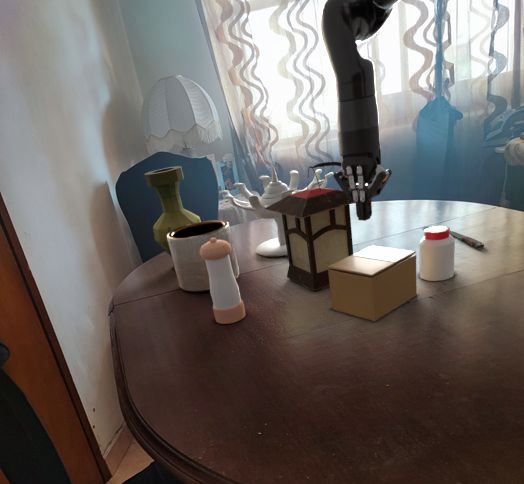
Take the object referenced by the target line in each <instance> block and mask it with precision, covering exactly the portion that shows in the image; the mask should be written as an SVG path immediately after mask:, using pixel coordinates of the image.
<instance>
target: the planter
mask: <svg viewBox="0 0 524 484" xmlns="http://www.w3.org/2000/svg"><path fill="white" fill-rule="evenodd" d="M211 238H216V239H217V240H224V241H227V242H228V243H229V244H230V246H231V252H230V254H229V257H230V262H231V266H232V271H233V274H234V277H235V279H236V280H237V279H239V276H240V268H239V267H240V266H239V264H238V263H239V262H238V259H237V254H236V249H235V245H234V240H233V235H232V231H231V226H230V223H229V221H227V220H223V219H211V220H203V221H202V220H201V222H197V223H193V224H189V225H185V226H182V227H180V228H177V229H175V230H173V231H171V232H170V233H168V234H167V240H168V243H169V247H170V251H171V255H172V257H171V258H172V263H174V266H175V270H174V271H175V275H176V279H177V281H178V286H179V287H180V289H182V290H183V291H186V292H188V293H207V292H208V293H209V292H210V282H209V274H208V270H207V265H206V261H205V259H203V258H202V257H201V255H200V249H201V247H202V245H204V244H205V243H207V242H209V241H210V239H211ZM174 266H173V267H174Z"/></svg>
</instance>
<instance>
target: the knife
mask: <svg viewBox="0 0 524 484" xmlns="http://www.w3.org/2000/svg"><path fill="white" fill-rule="evenodd" d="M430 227H431V226H426V227H424V230H425V229H427V228H430ZM450 235H451V236H452V237H454V238H455V237H456V238H457V239H458V241H462V242H465V243H467V245H469V246H471V247H475V249H483V248H485V244H484V243H483V242H481V241H479V240H477V239H475V238H472V237H470V236H467V235H463V234H461V233H459V232H456V231H452V230H450Z"/></svg>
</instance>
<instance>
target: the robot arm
mask: <svg viewBox="0 0 524 484" xmlns="http://www.w3.org/2000/svg"><path fill="white" fill-rule="evenodd" d="M400 1H401V0H326V1H325V3H324V5H323V7H322V10H321V13H320V21H319V29H320V30H319V31H320V36H321V40H322V44H323V47H324V51H325V53H326V56H327V60H328V63H329V66H330V68H331V71H332V74H333V78H334V89H335V99H336V127H337V138H338V150H339V155H340V156H341V157H342V159H341V166H342V167H340V168H339V170H338V171H336V172H333V179H334V180H335V181H336V183H337V184H338V186H339V188H340V190H341V191H343V192H344V193H345V195H346V197H347V198H352V199H353V200H354V201H355V211H356V212H355V214H356V217H357V219H358V221H368V220H370V219H371V217H372V215H373V208H372V207H373V205H372V200H373V199H374V198H376V197H378V196H380V194H381V193H382V192H383V189H384V188H385V186H386V184H387V183H388V181H389V179H390V177H391V176H392V173H393V171H392V169H390V168H388V169H386V167H385V168H384V166H382V159H381V160H380V158H379V155H378V152H379V149H380V150H381V140H380V139H381V138H380V119H379V118H380V117H379V106H378V101H377V89H376V87H377V86H376V72H375V64H374V62H373V61H372V60H371V59H369V58H367V57H363V56H361V54H360V53H361V52H360V50H359V47H358V44H360V43H361V44H362V43H364V42H367V41H369V40H370V39H371V38H373V37H374V36H376V34H378V32H380V30H381V29H382V28H383V26H384V25H385V23H386V22H387V21H388V19H389V17H390V16H391V15H392V13H393V11H394V10H395V8H396V6H397V4H398V3H399V2H400Z"/></svg>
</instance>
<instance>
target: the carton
mask: <svg viewBox="0 0 524 484" xmlns="http://www.w3.org/2000/svg"><path fill="white" fill-rule="evenodd" d="M416 252H417V251H416V250H410V249H403V248H402V249H401V248H396V247H395V248H394V247H388V246H380V245H372V244H371V245H368V246H367V247H365V248H362V249H361V250H358V251H357V252H354V253H353V254H352V255H351V256H355V257H361V258H368V259H374V260H380V261H386V262H392V263H394V265H393V266H391V267H389V268H387V269H385V270H383V271H381V272H379V273H378V274H376V275H374V276H367V275H362V274H357V273H351V272H346V271H341V270H336V269H329V270H328V274H329V283H330V286H329V291H330V301H331V309H332V310H333V311H336V312H341V313H344V314H347V315H352V316H354V317H358V318H362V319H366V320H369V321H373V322H376V321H378V320H379V319H382V318H383V317H384V316H385V315H388V314H389V313H390V312H392V311H393V310H395V309H397V308H398V307H400V306H401V305H404V304H405V303H406V302H408V301H410V300H411V299H413V298H415V297H416V296H417V294H418V293H417V291H418V290H417V254H416Z"/></svg>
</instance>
